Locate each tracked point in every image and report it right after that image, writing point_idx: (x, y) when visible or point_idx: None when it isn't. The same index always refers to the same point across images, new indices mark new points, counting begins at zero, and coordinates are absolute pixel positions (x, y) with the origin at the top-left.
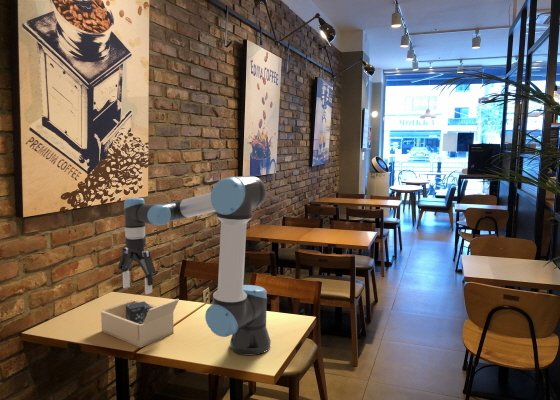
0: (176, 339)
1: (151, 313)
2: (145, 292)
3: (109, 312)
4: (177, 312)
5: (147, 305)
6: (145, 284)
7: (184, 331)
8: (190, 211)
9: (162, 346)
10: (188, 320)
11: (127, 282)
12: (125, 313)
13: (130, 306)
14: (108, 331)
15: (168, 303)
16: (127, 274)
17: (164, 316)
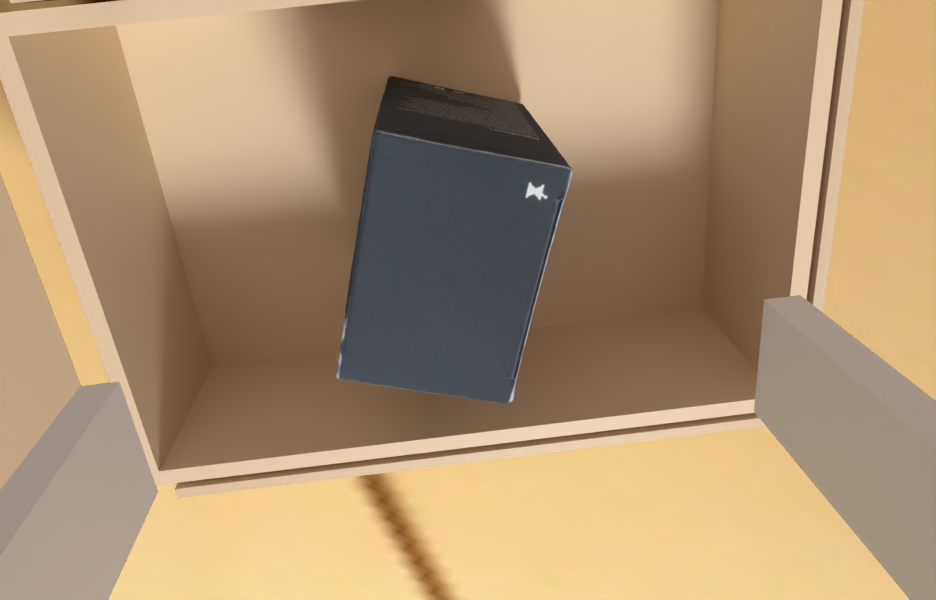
0: (76, 319)
1: None
2: (100, 398)
3: (793, 49)
4: (550, 582)
5: (341, 358)
6: (9, 519)
7: None
8: None
9: (8, 162)
10: (355, 558)
11: (806, 420)
12: (739, 242)
13: (462, 182)
14: None
15: None
16: (926, 556)
17: (110, 377)
